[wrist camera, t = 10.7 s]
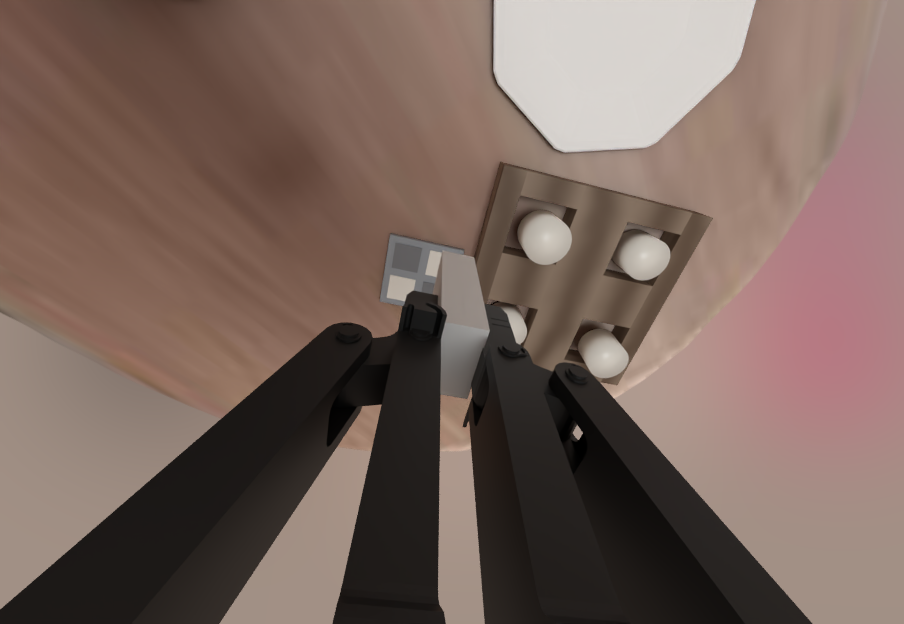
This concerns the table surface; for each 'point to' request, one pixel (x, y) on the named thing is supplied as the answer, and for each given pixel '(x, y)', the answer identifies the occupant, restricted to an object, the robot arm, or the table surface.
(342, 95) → the table surface
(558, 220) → the button
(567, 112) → the plate
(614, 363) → the button
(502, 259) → the board
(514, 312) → the button
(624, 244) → the button
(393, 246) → the card
